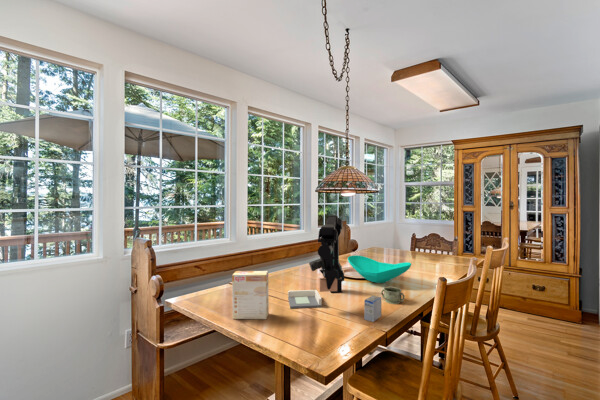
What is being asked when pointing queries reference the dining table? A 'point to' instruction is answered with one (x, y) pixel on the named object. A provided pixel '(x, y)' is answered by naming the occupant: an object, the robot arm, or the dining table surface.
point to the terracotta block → (323, 285)
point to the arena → (304, 299)
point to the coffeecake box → (250, 295)
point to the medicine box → (372, 308)
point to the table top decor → (377, 268)
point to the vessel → (392, 295)
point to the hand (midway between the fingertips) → (327, 287)
